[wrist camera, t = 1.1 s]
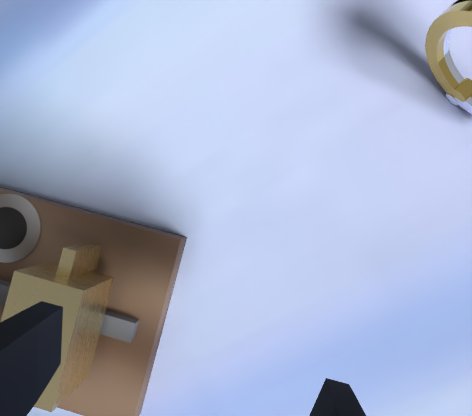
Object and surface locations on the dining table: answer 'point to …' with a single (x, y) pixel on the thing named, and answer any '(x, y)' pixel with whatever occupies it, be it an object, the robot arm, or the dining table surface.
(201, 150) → the dining table surface
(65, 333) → the block
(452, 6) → the ring
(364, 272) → the dining table surface
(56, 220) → the flat brown board
